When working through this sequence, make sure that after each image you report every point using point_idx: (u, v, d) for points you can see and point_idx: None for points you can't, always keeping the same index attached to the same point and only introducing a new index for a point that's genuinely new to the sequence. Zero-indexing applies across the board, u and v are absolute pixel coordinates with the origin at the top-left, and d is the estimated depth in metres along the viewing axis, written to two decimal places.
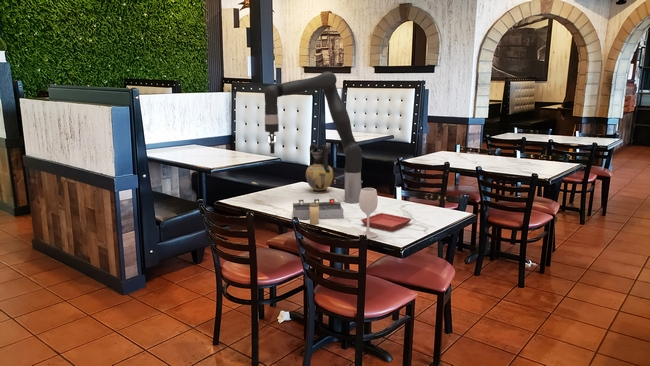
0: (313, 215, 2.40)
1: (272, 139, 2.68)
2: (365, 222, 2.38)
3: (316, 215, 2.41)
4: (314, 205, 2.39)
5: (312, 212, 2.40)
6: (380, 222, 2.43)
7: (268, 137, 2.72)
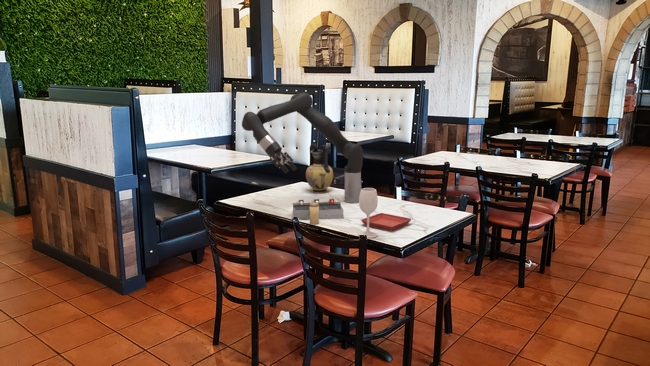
0: (313, 215, 2.40)
1: (274, 160, 2.38)
2: (365, 222, 2.38)
3: (316, 215, 2.41)
4: (314, 205, 2.39)
5: (312, 212, 2.40)
6: (380, 222, 2.43)
7: None
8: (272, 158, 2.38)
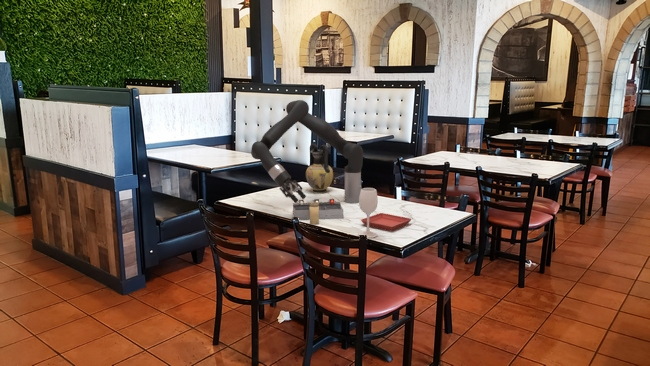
0: (313, 215, 2.40)
1: (283, 190, 2.39)
2: (365, 222, 2.37)
3: (316, 215, 2.41)
4: (314, 205, 2.39)
5: (312, 212, 2.40)
6: (380, 222, 2.43)
7: None
8: (282, 188, 2.39)
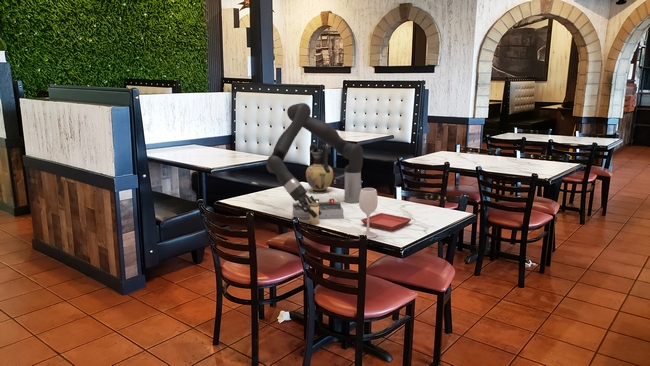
0: None
1: (302, 206, 2.37)
2: (365, 222, 2.37)
3: None
4: (314, 205, 2.39)
5: None
6: (380, 222, 2.43)
7: None
8: (300, 204, 2.37)
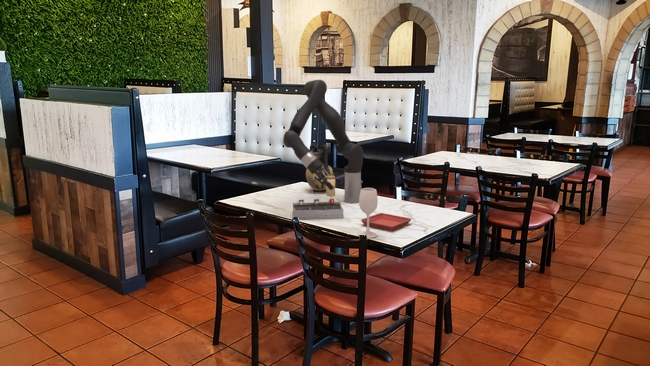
0: None
1: (319, 178, 2.45)
2: (365, 222, 2.37)
3: None
4: (330, 177, 2.47)
5: None
6: (380, 222, 2.43)
7: None
8: (317, 177, 2.45)
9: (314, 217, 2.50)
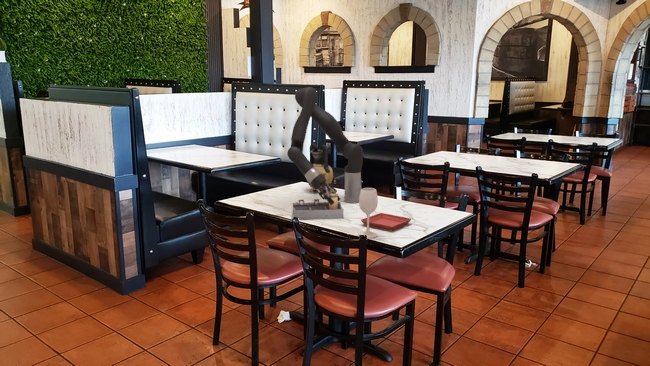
0: (332, 205, 2.53)
1: (320, 192, 2.49)
2: (365, 222, 2.37)
3: (335, 205, 2.53)
4: (333, 196, 2.52)
5: None
6: (380, 222, 2.43)
7: None
8: (318, 191, 2.49)
9: (314, 217, 2.50)
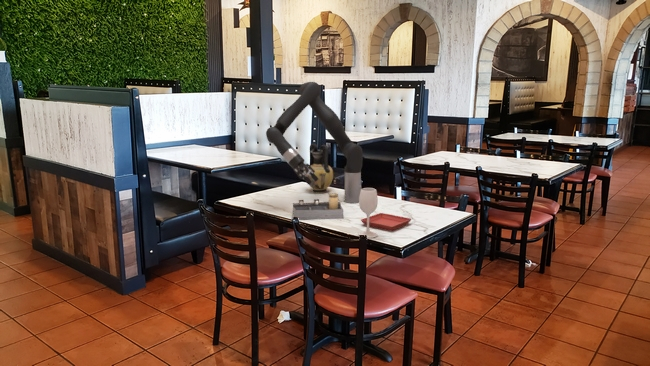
0: (332, 205, 2.53)
1: (298, 172, 2.52)
2: (365, 222, 2.37)
3: (335, 205, 2.53)
4: (333, 196, 2.52)
5: (331, 202, 2.53)
6: (380, 222, 2.43)
7: None
8: (296, 170, 2.52)
9: (314, 217, 2.50)
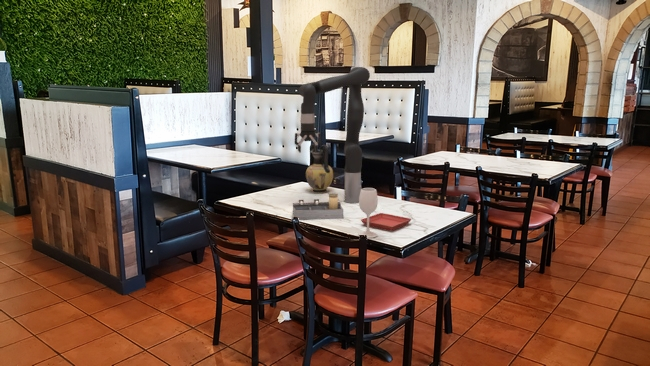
0: (332, 205, 2.53)
1: None
2: (365, 222, 2.37)
3: (335, 205, 2.53)
4: (333, 196, 2.52)
5: (331, 202, 2.53)
6: (380, 222, 2.43)
7: None
8: (295, 135, 2.68)
9: (314, 217, 2.50)
